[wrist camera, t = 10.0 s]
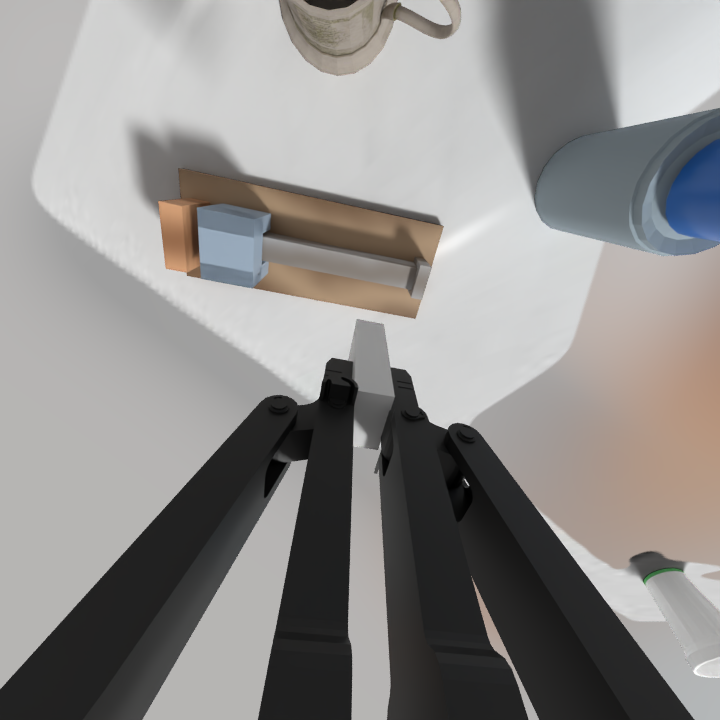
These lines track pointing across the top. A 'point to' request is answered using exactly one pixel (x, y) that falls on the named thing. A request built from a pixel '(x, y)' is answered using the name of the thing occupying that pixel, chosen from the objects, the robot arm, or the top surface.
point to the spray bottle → (639, 186)
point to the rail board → (325, 231)
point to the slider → (232, 244)
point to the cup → (688, 618)
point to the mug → (354, 31)
